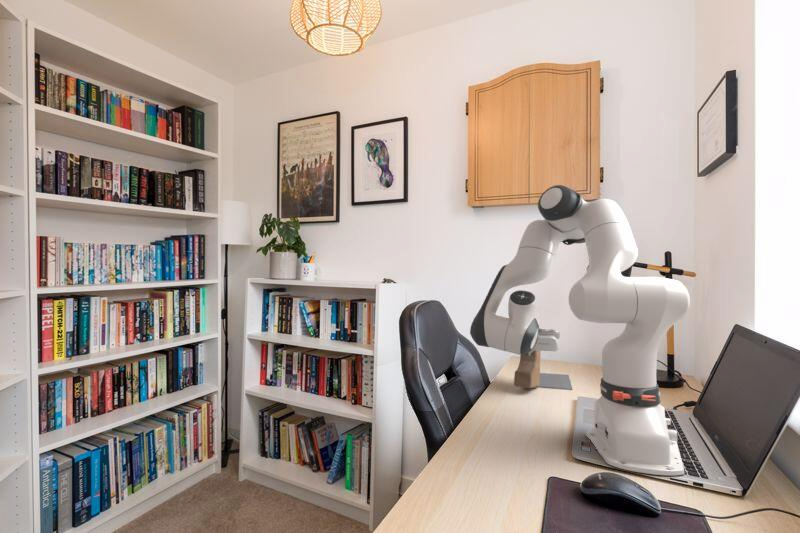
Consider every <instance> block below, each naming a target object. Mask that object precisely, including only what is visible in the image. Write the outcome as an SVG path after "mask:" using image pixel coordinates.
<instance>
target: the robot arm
mask: <svg viewBox="0 0 800 533" xmlns="http://www.w3.org/2000/svg"><path fill="white" fill-rule="evenodd" d="M537 208H538V211H539V213H540V214H541V216H542V217H543V219H536V220H533V221H531V222H530V223H528V225H527V227H526V228H525V229H524V232H523V235H522V237H521V240H520V242H519V244H518V248H517V252H516V254H515V256H514V258H513V259H512V260H511V261H510V262H509V263H508V264H506V265H504V264H503V266H501V267H500V269H499V271H498V273H497V274H496V277H495V278H494V280H493V282H492V284H491V286H490V288H489V290H488V292H487V293H486V296H485V298H484V300H483V303H482V305H481V307H480V308H479V310H478V312H477V313H476V315H475V316H474V318H473V320H472V322H471V325H470V328H469V329H470V330H469V334H470V336H471V338H472V340H473V341H474V343H475V344H476V346H479V347H485V348H491V349H496V350H499V351H503V352H508V353H513V354H516V355H520V356H521V355H526V356H530V353H532V352H533V351H534V350H536V351H540V352H541V351H542V352H557V351H559V339H560V337H561V334H560V332H559V331H557V330H555V329H553V328H551V329H549V328H548V329H545V328H544V329H543V328H540V321H539V318H540V309H539V302H538V299H537V297H536V295H535V294H534V293H533V292H532V291H528V290H515V291H514V292H512V293H511V294H510V295H509V298H508V303H507V304H508V308H507V310H508V313H507V314H508V317H506V316H501V315H497V311H498V309H499V307H500V305H501V302H503V298H504V297H505V294H506V292H508V291H509V290H510V289H513V288H516V287H519V286H525V285H531V284H536V283H539V282H541V281H543V280H545V279H546V278H547V277H548V276H549V275H550V274H551V272H552V269H553V267H554V263H555V259H556V255H557V249H558V247H559V245H560V244H561V243H562V244H564V245H567V246H570V245H573V244H583V243H585V246H586V250H587V251H586V252H587V255H588V267H587V270H586V272H585V274H584V275H583V276H582V277H581V278H580V279H579V280H577V281H576V282H575V283H574V284H573V286H572V287H570V290H569V294H568V305H569V308H570V310H571V312H572V313H573V315H574V316H575V317H576V319H578V320H581V321H584V322H590V323H596V324H625V327H624V329H623V331H622V333H621V334H619V335H618V336H617V337H614V338H611V339H610V340H608V341H607V342H606V343H605V344H604V346H603V348H602V351H601V361H602V362H601V363H602V364H601V366H602V367H601V368H602V372H601V373H602V374H601V375H602V377H601V378H600V383H599V387H600V394H601V396H600V397H599V398H598V399H597V400H595V402H594V403H593V404H594V405H593V429H590V430H587V431H586V432H585V433H586V434H585V436H586V435H587V437H588V438H589V439H590V440H591V442H592V443H593V444H594V446H595V447H596V448H595V447H594V446H593V447H594V448H595V450H596V449H597V450H598V451H597V450H596V451H597V452H598V453H599V455H600V456H601V457H602V459H603V460H604V461H605V462H606V463H607V465H610V466H612V467H615V468H619V469H622V470H626V471H630V472H636V473H642V474H649V475H656V476H658V475H659V476H668V477H669V476H670V477H671V476H674V477H675V476H682V475H685V469H684V465H683V461H682V456H681V453H680V448H679V445H678V432H677V430H676V429H668V425H669V426H671V424H672V420H671V418H669V417H668V418H667V417H666V411H665V410H666V409H665V407H664V406H663V405H662V404H661V391H660V388H659V384H658V383H657V363H658V351H659V348H660V345H661V342H662V341H663V338H664V337H665V335H666V334H667V332H668V331H669V330H670V329H671V328H672V327H673V325H675V324H676V323H677V322H679V321H680V320H682V319H683V318H684V317H685V316H686V315H687V314H688V312H689V309H690V306H691V296H690V294H689V290H688V289H687V287H686V286H685V285H684V284H683V282H681V281H680V280H677V279H673V278H668V277H660V276H624V275H623V274H622V273H623V272H624V271H626V270H629V268H631V266H634V264H635V263H636V262H637V259H638V256H639V249H638V246H637V244H636V240H635V238H634V235H633V232H632V228H631V226H630V224H629V221H628V219H627V217H626V215H625V213H624V212H623V210H622V208H621V207H620V205H619V204H618V203H617V202H616V201H614V200H612V199H609V198H598V199H595V200H592V201H585V200H584V199H583V195H582V194H580V193H578V192H577V191H575V190H574V189H572V188H570V187H567V186H565V185H562V184H556V185H552V186H551V187H548V188H547V189H546V190H544V191H543V193H542V194H541V195H540V197H539V199H538V202H537ZM539 328H540V329H539ZM587 437H586V438H587ZM588 438H587V439H588ZM589 439H588V440H589ZM590 440H589V441H590ZM591 442H590V443H591ZM592 443H591V444H592ZM593 444H592V445H593Z"/></svg>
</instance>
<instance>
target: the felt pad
mask: <svg viewBox="0 0 800 533" xmlns="http://www.w3.org/2000/svg"><path fill="white" fill-rule="evenodd" d="M513 382H515V380H514V381H513ZM537 388H540V389H541V388H542V389H555V390H568V391H573V386H572V383H571V379H570V375H569V374H563V373H561V374H560V373H547V372H540V383H539V386H538V387H537Z"/></svg>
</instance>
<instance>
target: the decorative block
mask: <svg viewBox="0 0 800 533" xmlns="http://www.w3.org/2000/svg"><path fill="white" fill-rule="evenodd" d="M539 329H541V327H539ZM540 373H541V351H536V350H534V351H533V352H532V353H530V356H526V355H520V359H519V363H518V367H517V369H516V370H515V371H514V381H515V382H514V381H513V382H514V383H513V386H514V385H515V386H514V387H520V388H527V389H533V388H539V387H538V386H539V383H540Z"/></svg>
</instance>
